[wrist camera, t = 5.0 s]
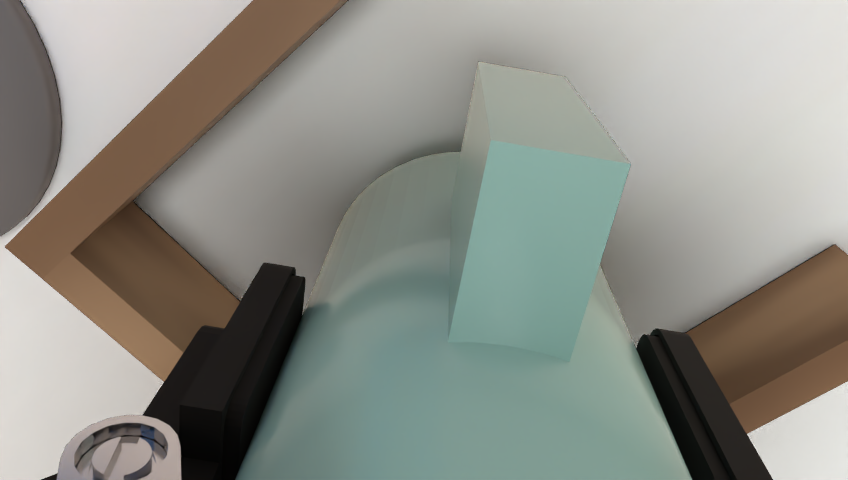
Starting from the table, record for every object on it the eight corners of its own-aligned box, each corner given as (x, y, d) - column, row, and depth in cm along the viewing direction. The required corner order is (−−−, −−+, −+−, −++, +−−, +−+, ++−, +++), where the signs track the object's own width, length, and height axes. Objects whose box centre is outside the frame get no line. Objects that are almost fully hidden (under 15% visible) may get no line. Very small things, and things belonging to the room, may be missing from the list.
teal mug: (555, 400, 17) (703, 1106, 7) (318, 362, 16) (103, 1024, 6) (658, 69, 13) (1301, 501, 3) (358, 15, 13) (24, 293, 3)
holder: (853, 272, 17) (929, 338, 14) (429, 515, 21) (424, 602, 18) (521, -237, 13) (537, -283, 10) (77, 195, 17) (4, 246, 14)
